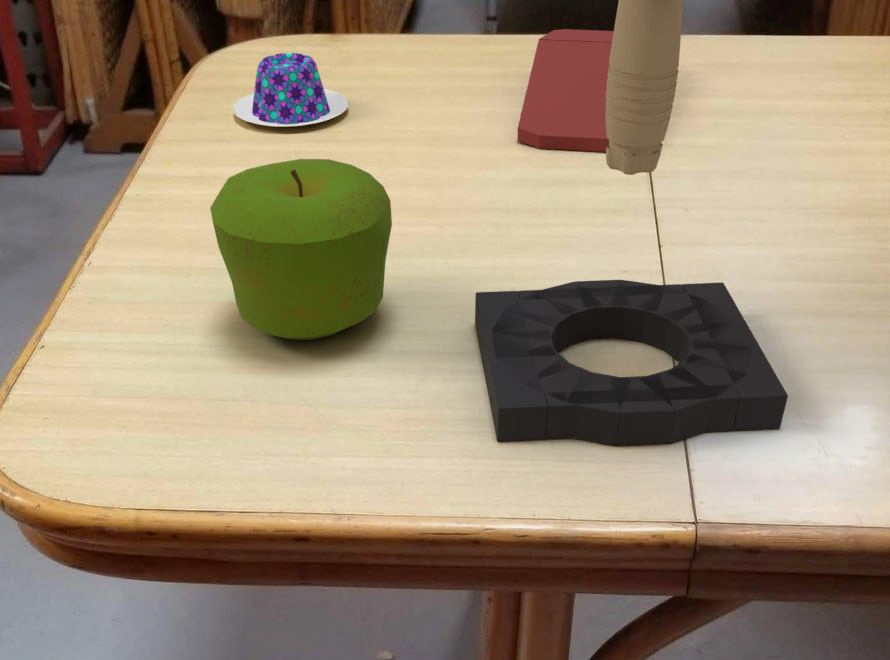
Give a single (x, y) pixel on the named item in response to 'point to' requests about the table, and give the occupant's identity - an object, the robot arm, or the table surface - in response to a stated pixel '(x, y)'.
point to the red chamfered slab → (568, 92)
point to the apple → (304, 245)
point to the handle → (641, 82)
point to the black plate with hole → (623, 398)
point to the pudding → (289, 94)
